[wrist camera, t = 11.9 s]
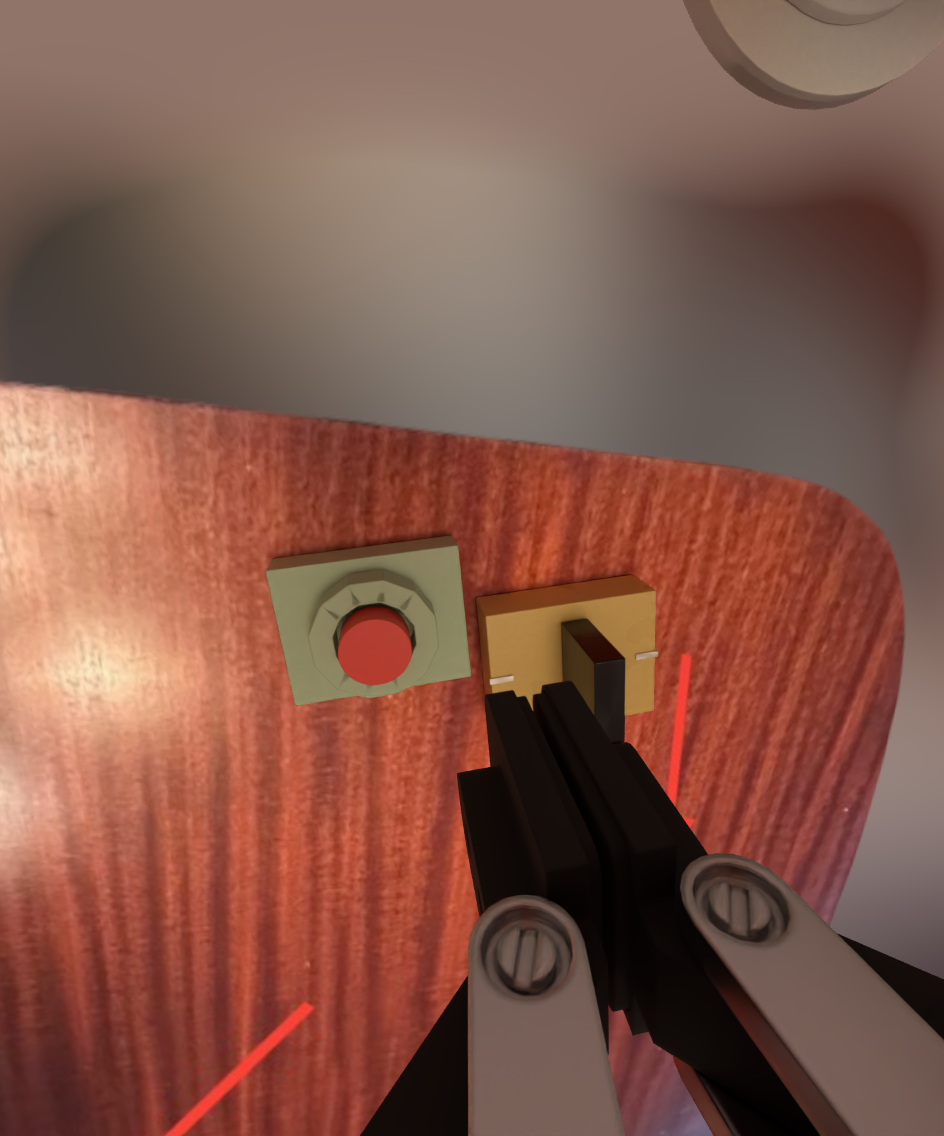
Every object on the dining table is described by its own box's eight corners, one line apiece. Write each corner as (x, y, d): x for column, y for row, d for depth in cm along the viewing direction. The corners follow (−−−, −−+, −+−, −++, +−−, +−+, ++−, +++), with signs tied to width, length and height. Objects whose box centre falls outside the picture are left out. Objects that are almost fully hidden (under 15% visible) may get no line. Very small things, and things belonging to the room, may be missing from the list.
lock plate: (634, 573, 34) (659, 591, 31) (633, 686, 37) (656, 711, 34) (474, 597, 33) (484, 618, 30) (484, 712, 35) (495, 741, 32)
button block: (452, 534, 31) (463, 554, 28) (465, 659, 34) (476, 692, 30) (272, 558, 30) (258, 582, 26) (300, 686, 33) (290, 724, 29)
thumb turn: (560, 621, 31) (596, 665, 26) (587, 617, 31) (628, 660, 26) (563, 713, 33) (597, 770, 28) (588, 709, 33) (626, 764, 28)
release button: (405, 601, 28) (407, 614, 27) (413, 663, 29) (416, 679, 28) (334, 611, 28) (332, 625, 26) (345, 674, 29) (344, 690, 27)
